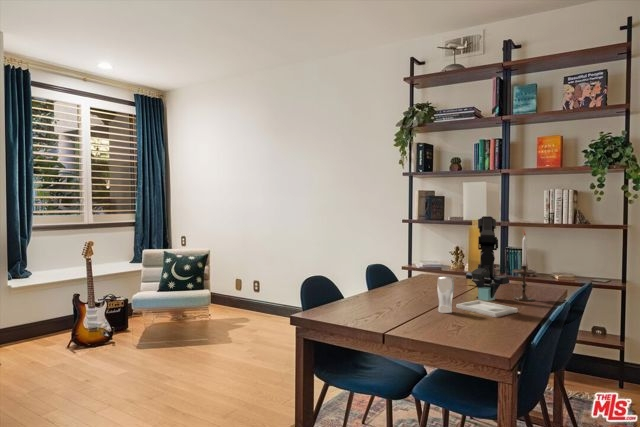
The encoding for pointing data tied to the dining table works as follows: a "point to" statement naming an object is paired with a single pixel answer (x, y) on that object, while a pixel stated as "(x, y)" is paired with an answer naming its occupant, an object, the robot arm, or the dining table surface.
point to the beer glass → (445, 294)
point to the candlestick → (524, 273)
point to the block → (485, 294)
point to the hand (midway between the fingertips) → (486, 297)
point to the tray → (487, 308)
